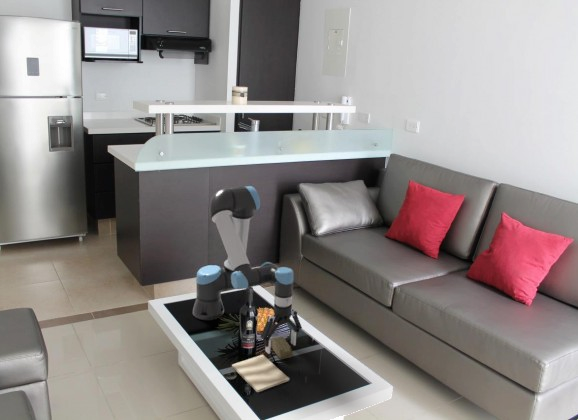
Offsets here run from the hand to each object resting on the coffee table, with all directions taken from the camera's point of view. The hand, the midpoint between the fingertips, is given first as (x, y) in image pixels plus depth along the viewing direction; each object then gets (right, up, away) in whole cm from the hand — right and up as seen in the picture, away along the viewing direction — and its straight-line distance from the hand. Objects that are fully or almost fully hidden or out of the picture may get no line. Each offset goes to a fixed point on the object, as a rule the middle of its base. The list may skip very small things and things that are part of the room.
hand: (280, 348), depth 238 cm
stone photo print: (-8, -6, -15) cm, 18 cm away
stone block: (0, -2, +1) cm, 2 cm away
